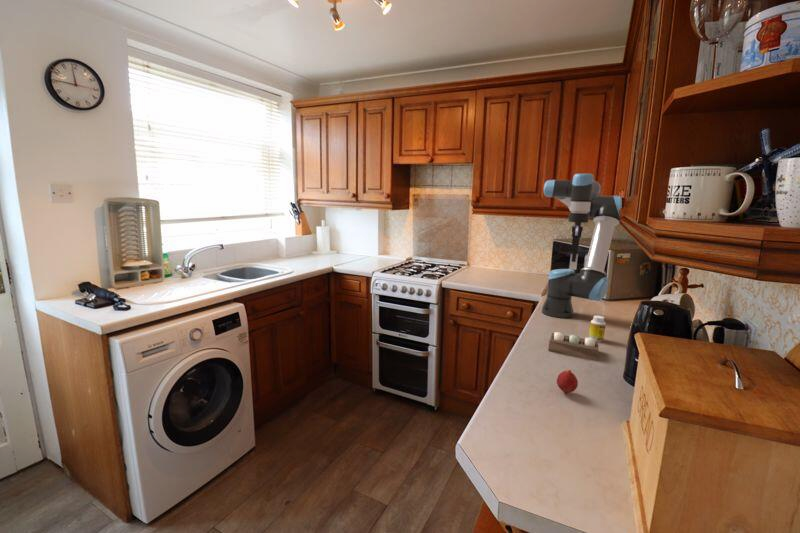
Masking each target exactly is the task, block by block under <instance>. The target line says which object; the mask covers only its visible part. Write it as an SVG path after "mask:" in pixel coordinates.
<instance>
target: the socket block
mask: <svg viewBox="0 0 800 533" xmlns="http://www.w3.org/2000/svg"><path fill="white" fill-rule="evenodd" d="M554 333H555V332H554ZM554 333H553V332H552V333H551V335H550V338H549V341H548V349H547V350H548V351H549V352H552V353H559V354H563V355H568V356H573V357H578V358H582V359H588V360H593V361H598V357H599V349H600V348H599V345H600V344H599V343H600V342H599V341H595V347H592V346H587V345H584V343H585V338H581V337H580V339H579V344H576V343H571V342H569V336H570V335H565V334H564V341H560V340H554Z"/></svg>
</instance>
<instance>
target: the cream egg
mask: <svg viewBox="0 0 800 533" xmlns="http://www.w3.org/2000/svg"><path fill="white" fill-rule="evenodd" d="M564 335H565V333H563V332H559V331H555V332H554V340H560V341H564Z"/></svg>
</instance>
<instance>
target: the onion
mask: <svg viewBox="0 0 800 533" xmlns="http://www.w3.org/2000/svg"><path fill="white" fill-rule="evenodd" d="M556 384H557V387H558V388H559V389H560V390H561V391H562V393H564V394H565V395H567V394H570V393H573V392H574V391H575V390H577V388H578V384H579V381H578V379H577V376H576V375H575V374H574V373H573V372H572V370H571V369H569V368H568V369H567V370H564V371H562V372H560V373H559V374H558V375H557V378H556Z"/></svg>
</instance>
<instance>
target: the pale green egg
mask: <svg viewBox="0 0 800 533" xmlns="http://www.w3.org/2000/svg"><path fill="white" fill-rule="evenodd" d="M568 336H569V342H571V343H576V344H579V339H580V338H581V337H580V336H579V335H577V334H569V335H568Z"/></svg>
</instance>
